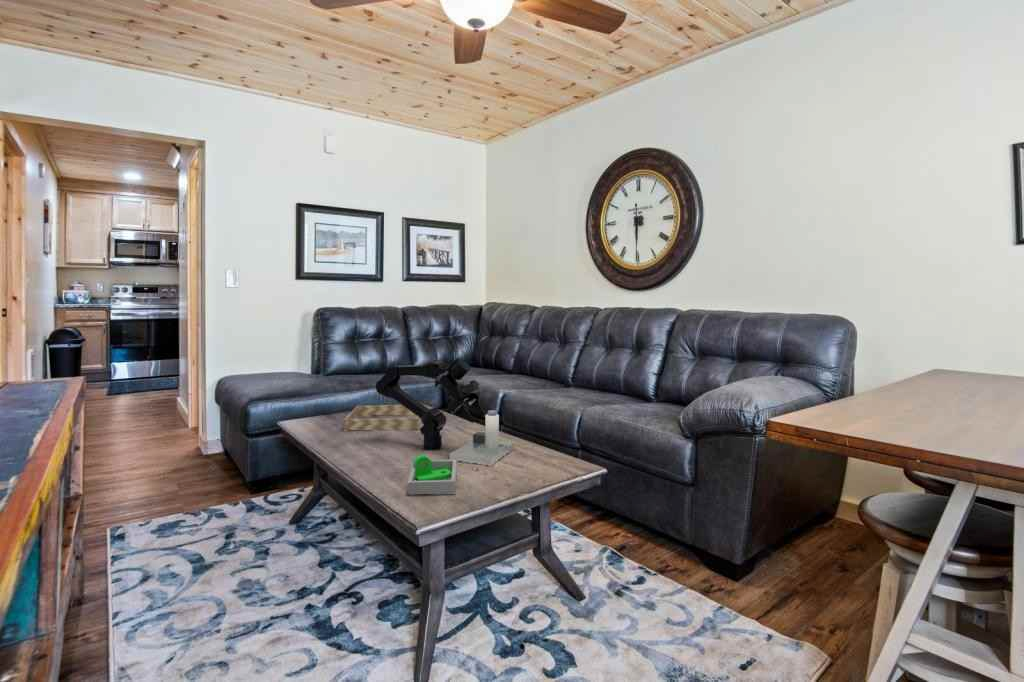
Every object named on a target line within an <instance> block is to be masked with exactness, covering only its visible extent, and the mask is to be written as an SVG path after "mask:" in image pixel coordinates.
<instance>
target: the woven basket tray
mask: <svg viewBox="0 0 1024 682" xmlns="http://www.w3.org/2000/svg"><path fill="white" fill-rule="evenodd" d="M372 415H405V416H416V417H411V418H410V417H409V418H408V417H407V418H405V417H403V418H402V417H400V418H396V417H395V418H359V417H373V416H372ZM420 423H421V424H422V421H421V418H420V417H418V416H417V415H415V414H414V413H413V412H411V411H410V410H409V409H407V408H406V407H404V406H403V405H402V404H387V405H386V404H385V405H384V404H383V405H382V404H381V405H378V404H375V405H372V404H371V405H356V406H355V407H354V408H353V409H352V410H351V412H349V414H347V416H346V417H345V418H344V419H343V431H344V430H383V431H415V430H414V429H419V430H420V427H419V426H421V424H420ZM412 429H413V430H412Z"/></svg>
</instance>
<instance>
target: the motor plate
mask: <svg viewBox="0 0 1024 682" xmlns="http://www.w3.org/2000/svg"><path fill="white" fill-rule="evenodd" d="M513 450H515V442H512V441H505V440H504V441H503V440H499V449H498V450H490V449H485V432H480V431H476V432H475V433H473V434H472V440H470V441H468V442H467V443H466V444H464V445H462V446H460V447H459V448H457V449H456V450H453V451H452V452H450V453H449V460H457V462H458V461H462V462H461V463H465V462H469V463H468V464H472V463H477V464H476V465H479V464H482V465H481V466H486V465H488V466H487V467H492V466H493V465H495V464H496V463H498V462H499V461H500V460H502V459H503V458H504V457H505V456H506V454H507V453H508V454H509V453H510V451H511V452H512V451H513ZM508 454H507V455H508ZM503 456H504V457H503ZM502 457H503V458H502ZM499 459H500V460H499ZM498 460H499V461H498ZM495 462H496V463H495ZM491 465H492V466H491Z"/></svg>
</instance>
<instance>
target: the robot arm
mask: <svg viewBox="0 0 1024 682" xmlns="http://www.w3.org/2000/svg"><path fill="white" fill-rule="evenodd" d="M470 371H471V366H470V364H469V363H468V362H466V361H465V360H462V359H461V358H460V357H456V358H455V359H454V360H453V362H452V363H451V364H446V363H445V362H444V361H442V360H438V361H433V362H430V363H426V364H413V365H410V364H409V365H399V364H398V365H395V366H391V368H390V369H389V370H388V371H387V373H385V374H384V375H383V376H381V378H380V379H379V380H378V381H377V382H376V384H375V389H376V392H377V394H379V395H381V396H383V397H387V398H391V399H393V400H395V401H396V402H398V403H399V405H403V406H404V407H406V408H407V409H409V410H410V411H411V412H413V413H414V414H415V415H414V416H416V417H417V416H418V417H420V418H421V424H423V425H422V426H421V428H420V427H419V431H420V434H421V435H423V450H424V451H425V450H428V449H431V450H440V449H441V448H442V447H443V446H442V445H443V440H442V437H443V435H442V434H441V431H443V429H444V427H445V426H446V425H447V416H446V415H445V414H444V411H441V410H440V409H438V407H436V406H435V407H433V408H428V407H427V406H425V405H424V404H423V403H421V402H420V401H418V400H417V399H415V398H414V397H412V396H411V395H410V394H408V393H407V392H405V391H404V390H403V389H402V388H401V386H400V383H399V382H400V381H401V377H402V376H424V377H427V378H431V379H433V378H434V379H435V378H437V379H435V383H434V387H435V388H438V387H442V388H443V390H444V391H445V392H446V393H447V395H446V397H447V398H451V400H452V401H451V402H450V403H449V404H448V405H447V408H446V411H447V412H448V414H449V415H453V416H456V417H458V418H461V419H462V420H463V419H464V420H466V421H468V422H470V423H474V422H475V419H474V418H473V415H472V414H471V412H469V409H470V410H472V411H473V412H475V413H476V414H477V415H479V416H480V417H483V418H484V417H485V415H486V414H485V412H484V409H483V407H482V405H481V399H482V393H480V391H479V390H480V387H479V386H480V383H479V382H478V381H477V380H475V379H473V380H471V381H469V384H467V385H465V384H460V383H459V382H458V381H461V380H463V378H464V377H465V376H466V375H467V374H468V373H469V372H470ZM438 377H439V378H438ZM467 406H468V408H469V409H467Z"/></svg>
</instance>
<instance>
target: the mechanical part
mask: <svg viewBox="0 0 1024 682" xmlns="http://www.w3.org/2000/svg"><path fill="white" fill-rule="evenodd" d="M430 460H431V459H430V458H429V457H427V456H426V455H424V454H421V455H418V456H416V457H415V459H414V460H413V463H412V466H413V467H414V468H415V480H416V481H431V480H444V479H447V480H449V479H448V478H450V477H452V472H451V471H450V470H449V469H447V468H445V469H440V470H434V471H431V461H430ZM421 462H425V466H424V467H423V468H419V465H420V463H421ZM450 479H451V478H450Z"/></svg>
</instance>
